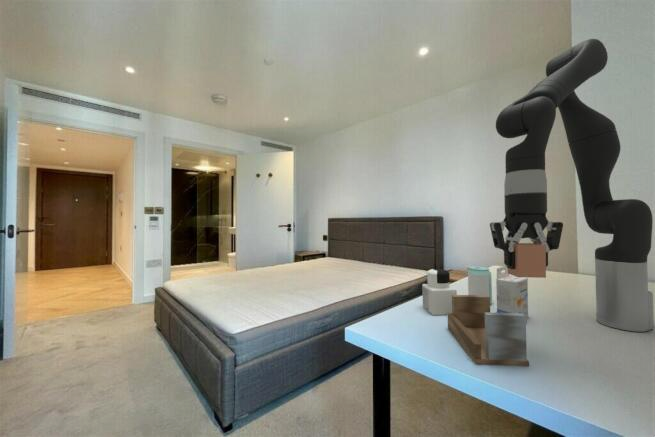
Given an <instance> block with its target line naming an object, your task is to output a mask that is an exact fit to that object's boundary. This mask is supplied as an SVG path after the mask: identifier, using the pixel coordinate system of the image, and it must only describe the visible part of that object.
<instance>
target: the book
mask: <svg viewBox="0 0 655 437" xmlns="http://www.w3.org/2000/svg"><path fill="white" fill-rule="evenodd" d="M513 252H515V269H510V268H507V273H508V274H510V275H512V276H516V277H525V278H539V279H543V278H544V279H546V278H547V267H546V245H540V244H534V243H533V242H532V243H531V242H530V243H529V242H526V243H525V242H519V243H517V244H515V250H514V251H513Z"/></svg>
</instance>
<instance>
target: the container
mask: <svg viewBox="0 0 655 437" xmlns="http://www.w3.org/2000/svg"><path fill="white" fill-rule="evenodd" d="M426 273H427V274H426V275H427V276H426V278H427V279H426V280H427V283H422V287H421V289H422V307H423V308H424V309H425V310H426V311H427V312H428V313H430V314H431V315H432V316H445V315H447V316H448V314H447V313H450V314H452V295H458V294H457V289H456V288H454V287H452V286H450V284H451V281H450V280H451V277H450V272H449V271H448V270H446V269H442V268H431V269H429V270H427V272H426Z"/></svg>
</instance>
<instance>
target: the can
mask: <svg viewBox="0 0 655 437" xmlns="http://www.w3.org/2000/svg"><path fill="white" fill-rule="evenodd" d="M492 278H493V277H492V272H491V271H490V268H489V267H486V266H480V265H479V266H476V265H475V266H470V267H469V269H468V271H467V295H487V296H489V297H490V304H492V303H493V289H492V286H493V285H492V283H493V282H492Z"/></svg>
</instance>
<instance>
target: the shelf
mask: <svg viewBox="0 0 655 437" xmlns="http://www.w3.org/2000/svg"><path fill="white" fill-rule="evenodd" d="M447 314H448V315H447V329H448V331H449V333H451V334H452V336H453V337H454V338H455V339H456V341H457V342H458V343H459V345H460V346H461V348H463V350H464V351H465V353H466V354H467V355H468V357H469V358H470V359H471V360H472V362H473V363H474V364H475V365H492V366H493V365H494V366H513V367H514V366H515V367H530V361H529V360H528V352H527V351H528V350H527V318H526V316H525V315H524V314H522V313H497V312H491V303H490V297H489V296H487V295H468V294H457V295H452V314H450V313H447Z"/></svg>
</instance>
